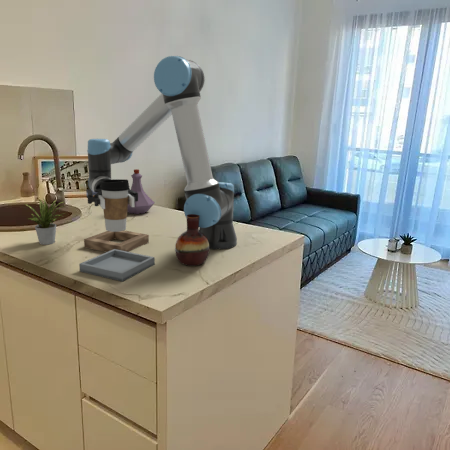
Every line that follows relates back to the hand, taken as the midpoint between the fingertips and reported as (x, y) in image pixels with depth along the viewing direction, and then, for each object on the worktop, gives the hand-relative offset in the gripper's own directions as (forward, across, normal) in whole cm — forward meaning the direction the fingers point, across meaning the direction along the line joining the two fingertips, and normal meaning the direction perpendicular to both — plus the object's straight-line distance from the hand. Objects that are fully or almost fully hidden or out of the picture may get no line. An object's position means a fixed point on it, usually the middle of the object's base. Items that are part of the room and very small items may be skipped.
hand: (118, 203), depth 122 cm
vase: (-2, -23, -21) cm, 32 cm away
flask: (-76, -23, -22) cm, 82 cm away
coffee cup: (-5, 0, -9) cm, 10 cm away
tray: (-5, 0, -21) cm, 22 cm away
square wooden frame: (-28, -4, -22) cm, 35 cm away
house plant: (-38, +18, -22) cm, 47 cm away
